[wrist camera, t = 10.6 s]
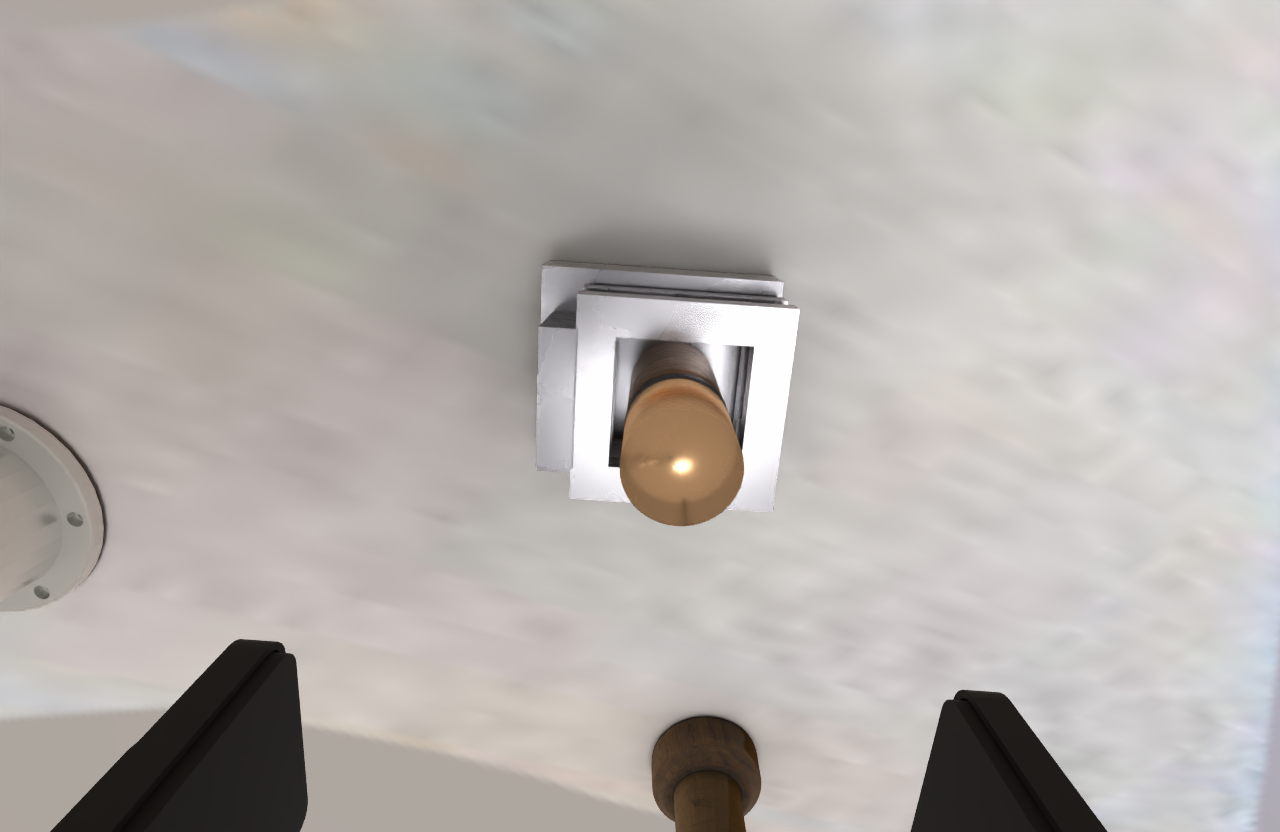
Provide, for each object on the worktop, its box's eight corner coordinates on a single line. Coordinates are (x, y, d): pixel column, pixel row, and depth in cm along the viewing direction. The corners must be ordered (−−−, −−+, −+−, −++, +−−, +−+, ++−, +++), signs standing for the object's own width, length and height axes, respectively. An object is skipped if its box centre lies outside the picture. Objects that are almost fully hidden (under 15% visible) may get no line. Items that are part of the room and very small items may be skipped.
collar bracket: (546, 449, 37) (520, 508, 29) (551, 260, 34) (524, 274, 26) (749, 463, 37) (772, 525, 29) (772, 275, 34) (804, 294, 26)
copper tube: (633, 338, 32) (622, 404, 21) (719, 344, 32) (752, 414, 21) (627, 420, 33) (615, 522, 22) (710, 426, 33) (737, 530, 22)
